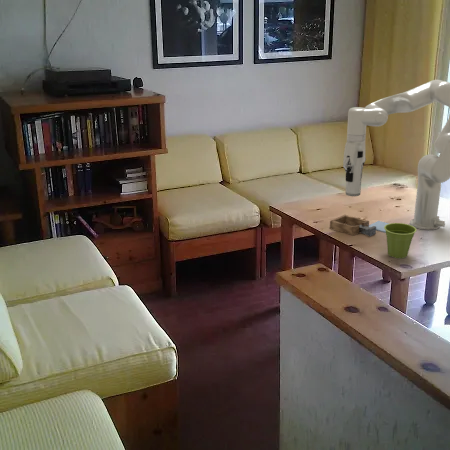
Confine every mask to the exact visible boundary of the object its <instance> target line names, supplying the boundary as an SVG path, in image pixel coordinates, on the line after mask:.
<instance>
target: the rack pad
mask: <svg viewBox="0 0 450 450" xmlns="http://www.w3.org/2000/svg"><path fill="white" fill-rule="evenodd" d="M387 224H390V223H389V222H385V221H383V220H382V221H380V220H376V221H375V222H373V223H371V224H369V227H372V226H375V227H376V232H381V233H384V234H386V230H385V229H384V226H385V225H387Z"/></svg>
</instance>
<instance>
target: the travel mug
mask: <svg viewBox="0 0 450 450" xmlns="http://www.w3.org/2000/svg"><path fill="white" fill-rule="evenodd" d="M357 156H358V157H357V161H356V165H355V166H354V168H353V171H352V173H353V182H348V181H346V180H345V182H346V183H345V195H346V196H348V197H358V196H360V195H361V191H362V190H361V189H362V179H363V169H362V163H363V151H358V155H357ZM349 165H351V163H349ZM349 168H350V169H351V167H349Z"/></svg>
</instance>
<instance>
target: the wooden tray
mask: <svg viewBox="0 0 450 450" xmlns="http://www.w3.org/2000/svg"><path fill="white" fill-rule="evenodd" d="M360 225H364V226H367V227H369V225H370V221H369V220H366V219H362V218H360V217H359V218H358V217H355V216H352V215H349V214H348V215H347V214H343V215H341V216H339V217H336V218H334V219H332V220H330V221H329V229H331V230H334V231H338V232H341V233H345V234H347V233H348V235H351V236H356V235H358V234H360V233H359V226H360Z"/></svg>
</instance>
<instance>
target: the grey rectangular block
mask: <svg viewBox="0 0 450 450" xmlns="http://www.w3.org/2000/svg"><path fill="white" fill-rule="evenodd" d="M358 234H362V235H366V236H367V237H372V236H374V235H376V234H377V230H376V227H375V226H372V227H367V226H364V225H360V226H359V233H358Z"/></svg>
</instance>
